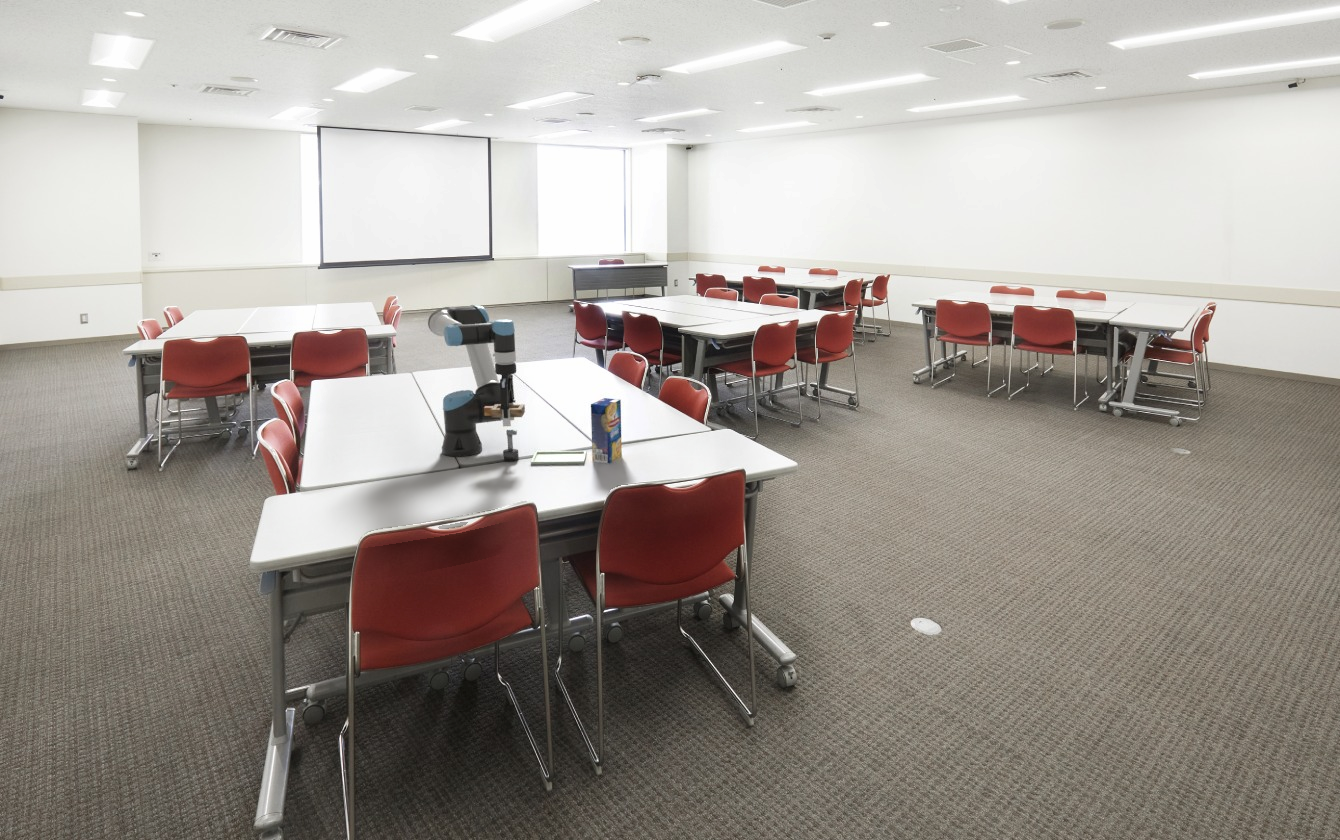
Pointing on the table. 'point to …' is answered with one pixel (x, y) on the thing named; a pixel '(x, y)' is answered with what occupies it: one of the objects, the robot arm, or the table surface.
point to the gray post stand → (510, 448)
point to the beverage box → (606, 430)
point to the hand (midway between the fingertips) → (508, 422)
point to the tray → (558, 457)
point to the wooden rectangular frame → (495, 410)
